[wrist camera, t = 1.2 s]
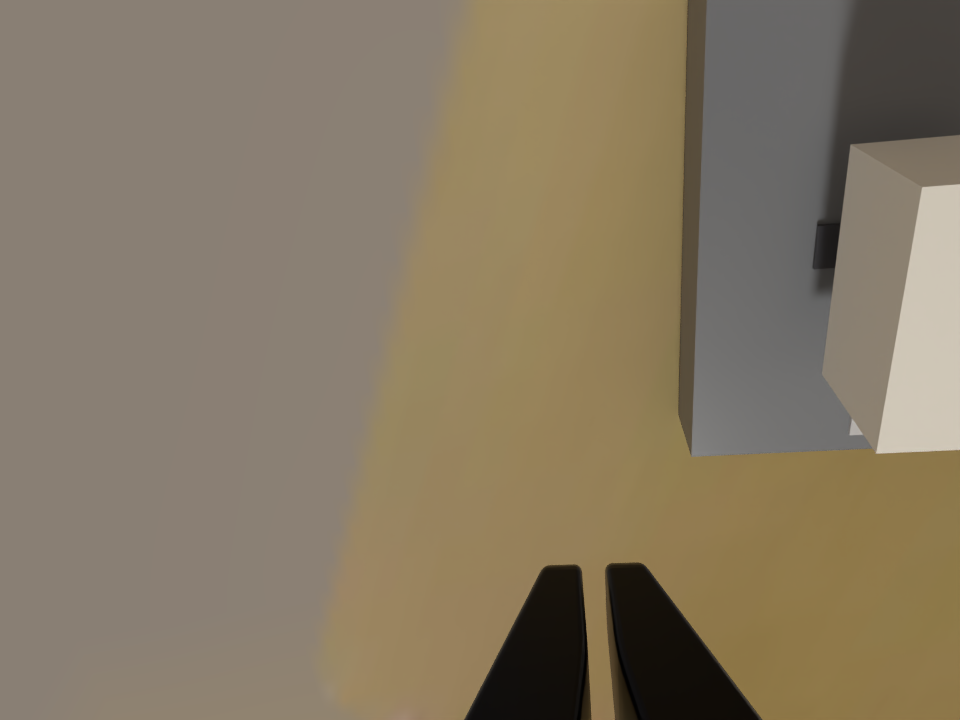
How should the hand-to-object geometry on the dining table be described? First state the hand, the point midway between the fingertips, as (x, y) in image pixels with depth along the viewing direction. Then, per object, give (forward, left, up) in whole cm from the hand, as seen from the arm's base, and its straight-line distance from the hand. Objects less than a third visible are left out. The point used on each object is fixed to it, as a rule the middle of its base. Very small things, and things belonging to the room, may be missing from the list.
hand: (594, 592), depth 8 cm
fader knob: (-7, 0, -10) cm, 12 cm away
